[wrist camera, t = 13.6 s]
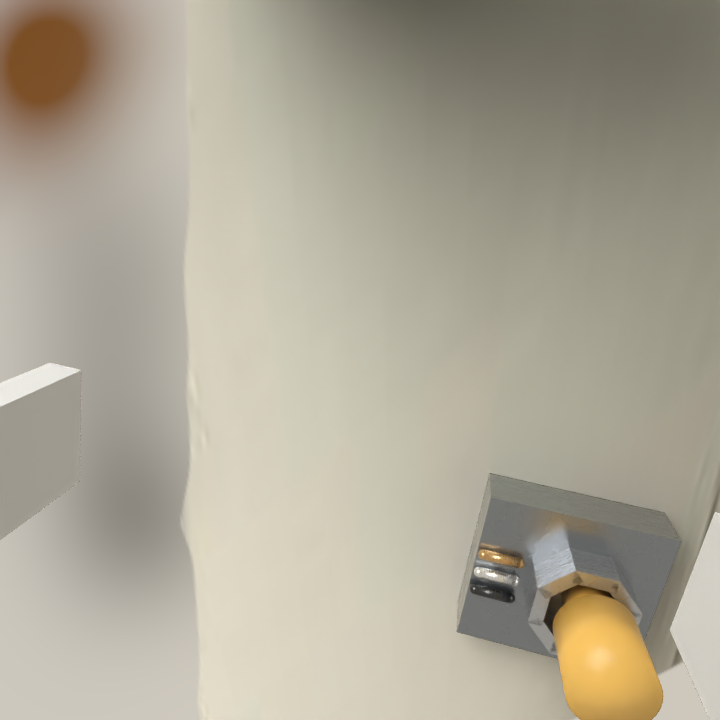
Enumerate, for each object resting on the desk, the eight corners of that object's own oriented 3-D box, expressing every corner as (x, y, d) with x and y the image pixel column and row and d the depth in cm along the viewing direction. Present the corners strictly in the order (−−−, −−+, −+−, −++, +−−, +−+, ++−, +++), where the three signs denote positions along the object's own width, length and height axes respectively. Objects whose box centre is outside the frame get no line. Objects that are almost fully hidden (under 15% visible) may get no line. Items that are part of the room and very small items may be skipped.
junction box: (458, 600, 46) (455, 658, 40) (489, 473, 42) (491, 516, 37) (618, 641, 44) (640, 707, 38) (664, 512, 41) (695, 564, 35)
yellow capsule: (538, 619, 41) (555, 717, 33) (556, 557, 39) (577, 646, 32) (613, 636, 40) (647, 741, 33) (634, 575, 39) (675, 670, 31)
